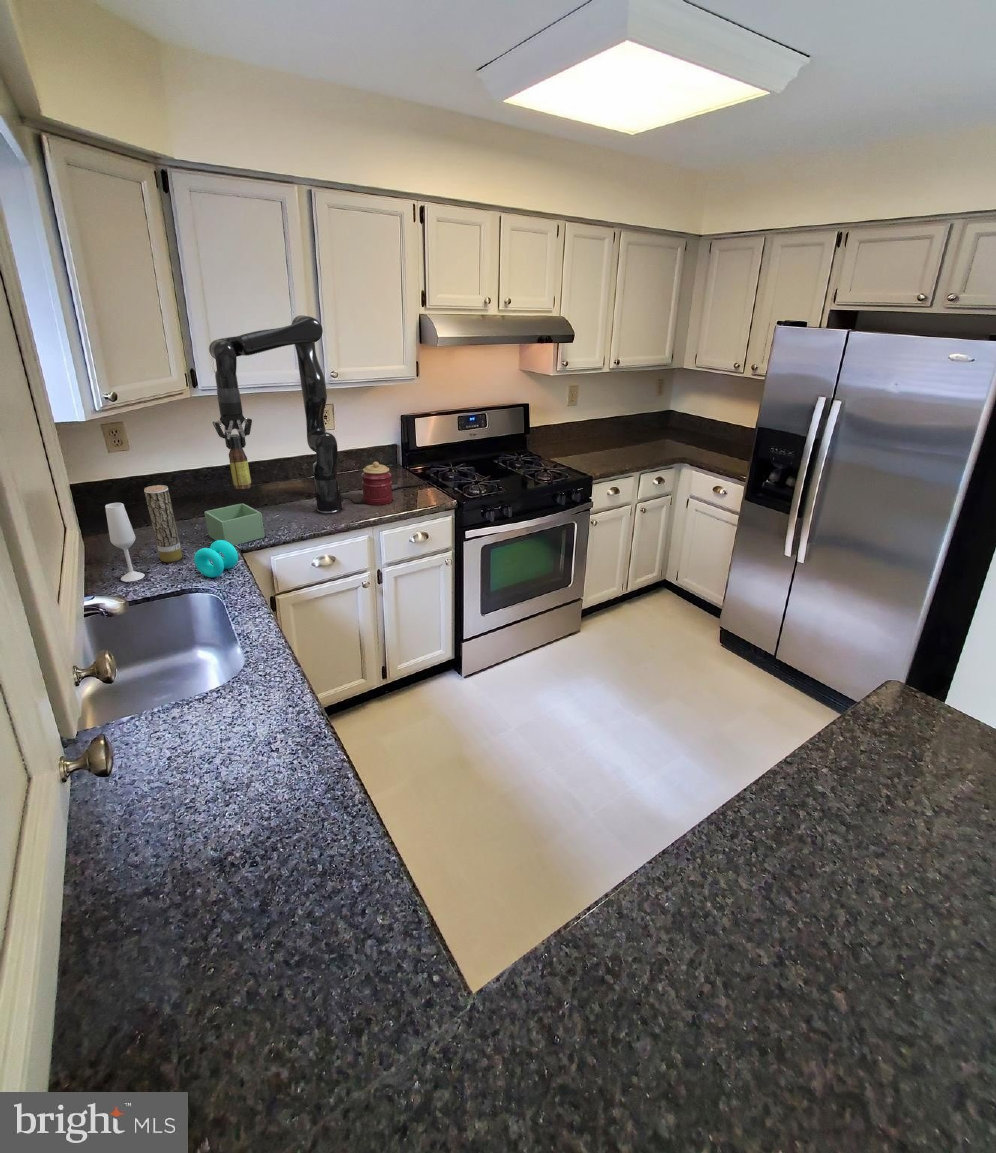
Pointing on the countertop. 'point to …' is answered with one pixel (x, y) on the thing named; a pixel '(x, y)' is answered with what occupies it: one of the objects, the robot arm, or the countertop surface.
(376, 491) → the kitchen canister
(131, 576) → the champagne flute
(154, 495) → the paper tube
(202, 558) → the turquoise yo-yo
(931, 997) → the countertop surface
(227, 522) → the bin
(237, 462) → the sauce bottle
